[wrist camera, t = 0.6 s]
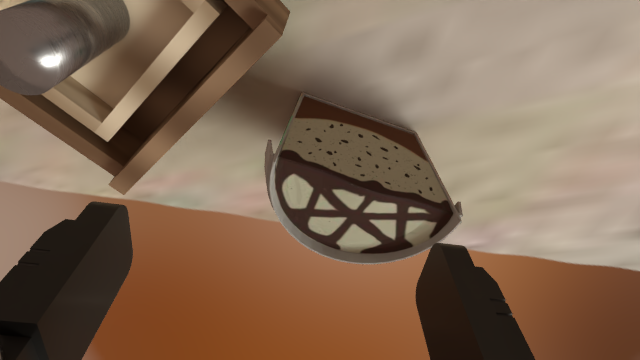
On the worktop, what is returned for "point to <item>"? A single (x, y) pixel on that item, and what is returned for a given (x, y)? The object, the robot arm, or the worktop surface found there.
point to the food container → (356, 186)
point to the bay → (169, 93)
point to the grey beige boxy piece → (97, 52)
